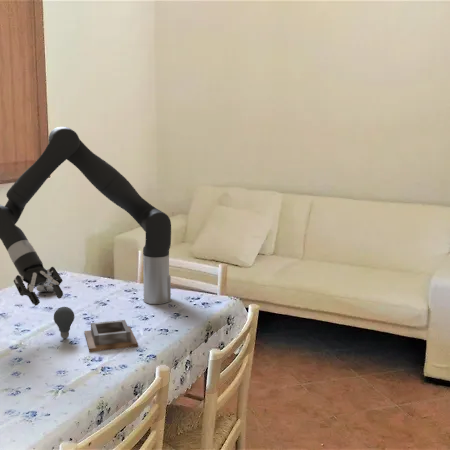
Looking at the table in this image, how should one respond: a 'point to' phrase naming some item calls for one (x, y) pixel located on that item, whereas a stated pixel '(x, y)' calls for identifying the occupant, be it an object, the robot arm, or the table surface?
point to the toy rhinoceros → (44, 287)
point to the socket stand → (110, 336)
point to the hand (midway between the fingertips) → (49, 300)
